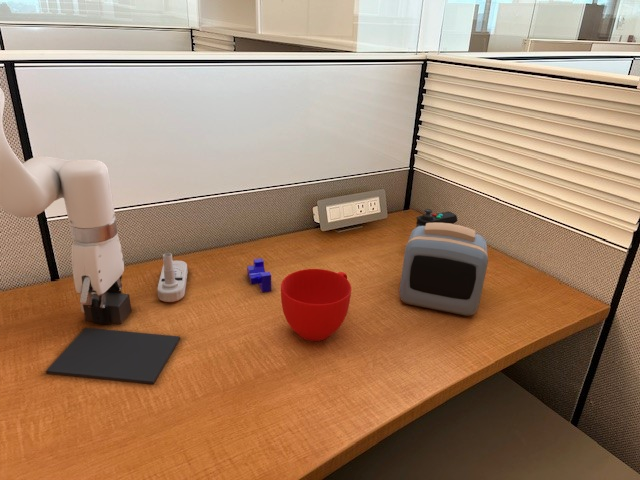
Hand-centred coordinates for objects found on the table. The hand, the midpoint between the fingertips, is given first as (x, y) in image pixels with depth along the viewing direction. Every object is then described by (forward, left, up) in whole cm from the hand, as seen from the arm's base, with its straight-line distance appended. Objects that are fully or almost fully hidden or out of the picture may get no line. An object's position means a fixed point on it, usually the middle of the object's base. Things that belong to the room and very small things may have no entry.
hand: (109, 314), depth 93 cm
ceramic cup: (+41, +3, -1) cm, 41 cm away
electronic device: (+8, +13, -1) cm, 15 cm away
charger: (0, 0, 0) cm, 0 cm away
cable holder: (+26, +17, -1) cm, 31 cm away
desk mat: (+7, -11, 0) cm, 13 cm away
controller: (+68, +46, -1) cm, 82 cm away
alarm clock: (+66, +19, -1) cm, 69 cm away
